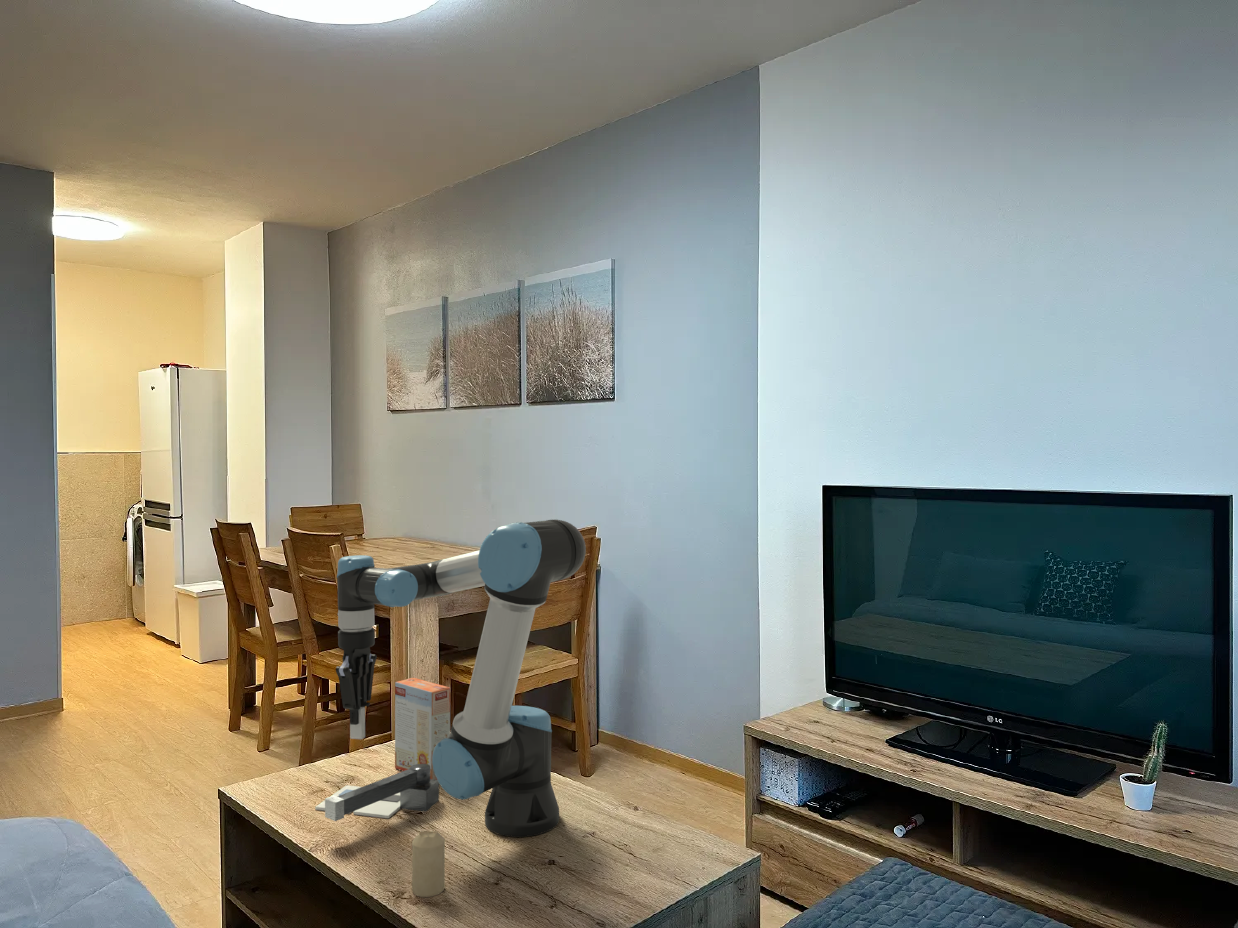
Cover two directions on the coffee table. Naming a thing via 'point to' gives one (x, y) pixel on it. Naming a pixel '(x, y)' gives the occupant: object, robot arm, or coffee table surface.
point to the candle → (428, 864)
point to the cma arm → (376, 791)
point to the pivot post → (420, 796)
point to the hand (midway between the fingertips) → (357, 737)
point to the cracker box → (420, 721)
